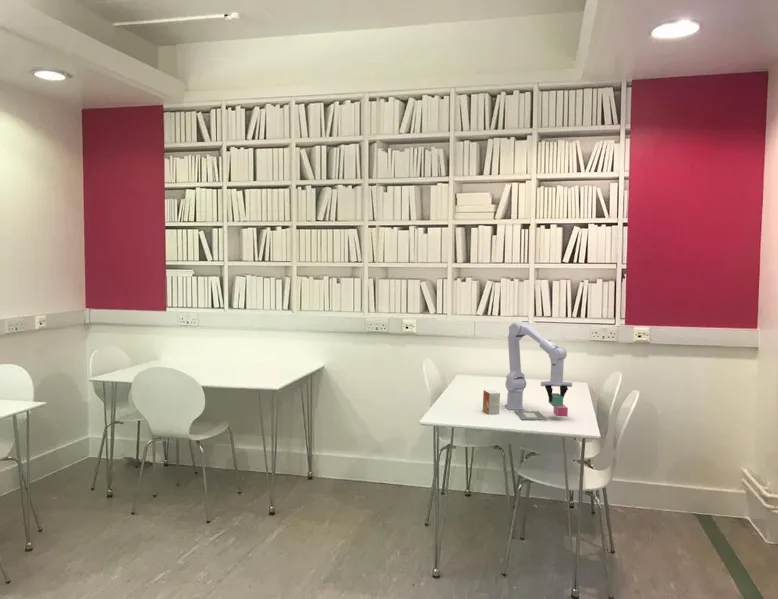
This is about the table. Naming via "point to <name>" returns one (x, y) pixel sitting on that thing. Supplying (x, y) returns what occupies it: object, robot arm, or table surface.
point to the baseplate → (530, 415)
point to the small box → (491, 401)
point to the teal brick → (556, 400)
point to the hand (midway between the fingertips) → (555, 401)
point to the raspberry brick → (561, 410)
